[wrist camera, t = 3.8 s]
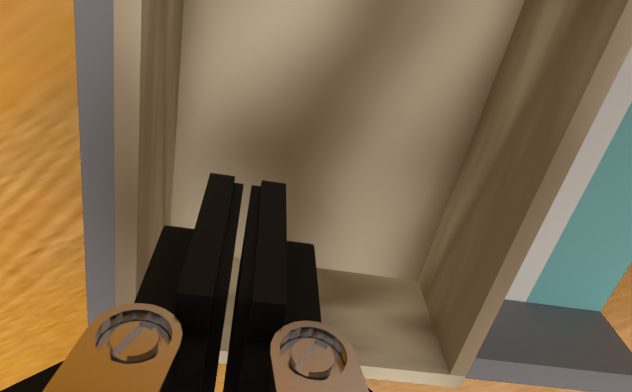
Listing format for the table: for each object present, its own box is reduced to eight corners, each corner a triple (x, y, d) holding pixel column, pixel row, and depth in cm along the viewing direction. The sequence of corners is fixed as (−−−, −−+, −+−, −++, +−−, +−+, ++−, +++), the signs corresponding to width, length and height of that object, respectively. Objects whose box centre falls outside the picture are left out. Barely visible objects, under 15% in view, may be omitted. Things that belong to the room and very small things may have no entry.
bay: (812, -67, 17) (987, -59, 13) (579, 314, 26) (636, 396, 22) (131, -240, 14) (59, -307, 10) (127, 257, 23) (88, 338, 19)
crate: (561, -70, 16) (684, -60, 11) (423, 284, 23) (460, 388, 18) (175, -161, 14) (111, -199, 9) (157, 249, 21) (115, 352, 16)
